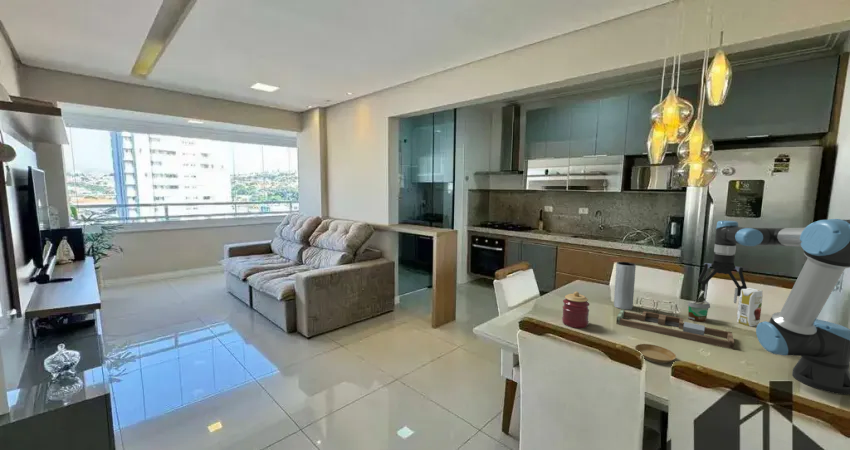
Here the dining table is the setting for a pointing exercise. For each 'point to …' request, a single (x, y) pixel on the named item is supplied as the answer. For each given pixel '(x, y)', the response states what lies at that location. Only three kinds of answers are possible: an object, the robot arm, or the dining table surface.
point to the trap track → (676, 333)
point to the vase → (624, 285)
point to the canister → (575, 310)
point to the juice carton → (749, 307)
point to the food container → (698, 311)
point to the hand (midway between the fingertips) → (719, 300)
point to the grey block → (693, 328)
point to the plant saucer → (656, 353)
